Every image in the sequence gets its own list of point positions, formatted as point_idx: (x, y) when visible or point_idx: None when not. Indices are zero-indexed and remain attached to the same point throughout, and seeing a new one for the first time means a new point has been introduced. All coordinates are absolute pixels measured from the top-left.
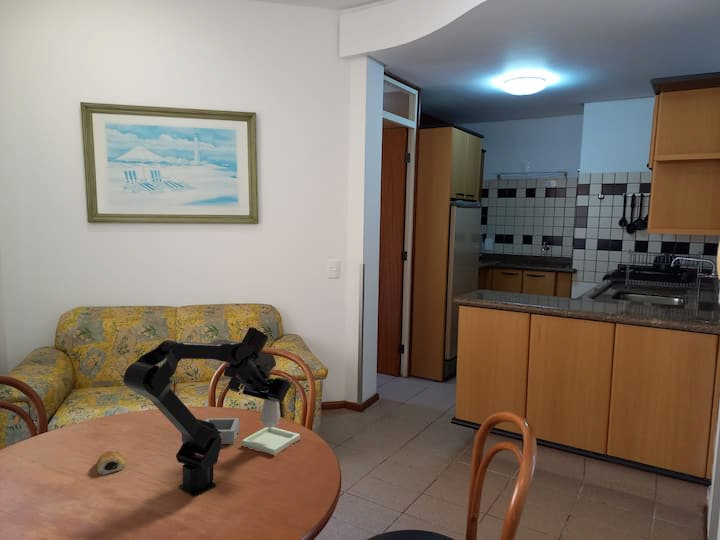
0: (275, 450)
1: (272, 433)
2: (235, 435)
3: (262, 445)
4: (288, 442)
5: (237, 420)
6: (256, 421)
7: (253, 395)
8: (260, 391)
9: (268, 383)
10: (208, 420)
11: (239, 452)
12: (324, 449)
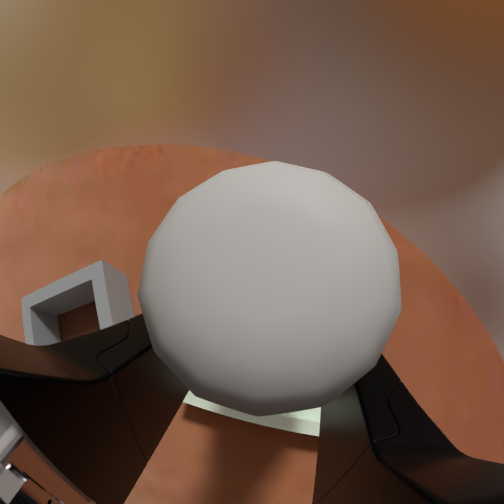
0: None
1: None
2: None
3: (284, 424)
4: None
5: (103, 285)
6: (156, 193)
7: (135, 474)
8: (158, 384)
9: (248, 378)
10: (29, 313)
11: (203, 441)
12: (471, 312)
